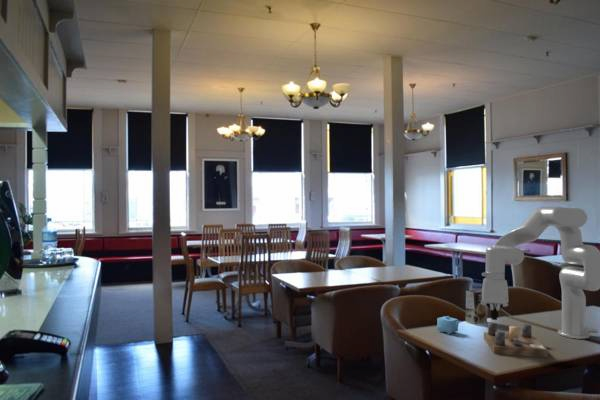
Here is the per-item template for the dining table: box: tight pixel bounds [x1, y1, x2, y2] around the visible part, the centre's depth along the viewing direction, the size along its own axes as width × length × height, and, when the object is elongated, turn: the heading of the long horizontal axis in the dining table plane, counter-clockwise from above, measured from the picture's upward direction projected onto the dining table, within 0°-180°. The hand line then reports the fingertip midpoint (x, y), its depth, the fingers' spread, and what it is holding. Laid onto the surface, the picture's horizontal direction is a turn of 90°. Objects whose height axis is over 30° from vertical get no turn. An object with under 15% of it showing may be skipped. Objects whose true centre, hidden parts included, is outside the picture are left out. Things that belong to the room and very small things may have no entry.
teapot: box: [436, 315, 462, 335], centre depth 212 cm, size 12×6×8 cm, turn 41°
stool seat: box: [483, 321, 549, 358], centre depth 191 cm, size 20×20×8 cm
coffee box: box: [465, 289, 488, 325], centre depth 230 cm, size 9×6×16 cm
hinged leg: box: [508, 325, 522, 345], centre depth 187 cm, size 10×4×5 cm, turn 169°
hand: (494, 319), depth 192 cm, fingers closed
